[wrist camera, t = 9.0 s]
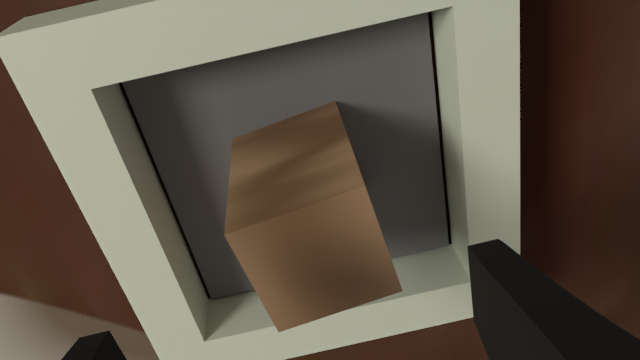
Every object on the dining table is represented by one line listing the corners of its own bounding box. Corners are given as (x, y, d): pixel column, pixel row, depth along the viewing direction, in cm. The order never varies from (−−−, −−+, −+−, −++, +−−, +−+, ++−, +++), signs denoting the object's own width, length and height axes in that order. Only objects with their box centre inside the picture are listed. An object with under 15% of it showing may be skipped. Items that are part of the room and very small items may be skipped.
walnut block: (335, 100, 19) (364, 185, 14) (366, 188, 21) (402, 290, 16) (232, 138, 19) (224, 235, 14) (273, 221, 21) (278, 332, 16)
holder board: (485, -90, 17) (519, -84, 15) (497, 268, 24) (520, 306, 22) (24, 17, 17) (-10, 38, 15) (179, 339, 25) (172, 384, 22)
